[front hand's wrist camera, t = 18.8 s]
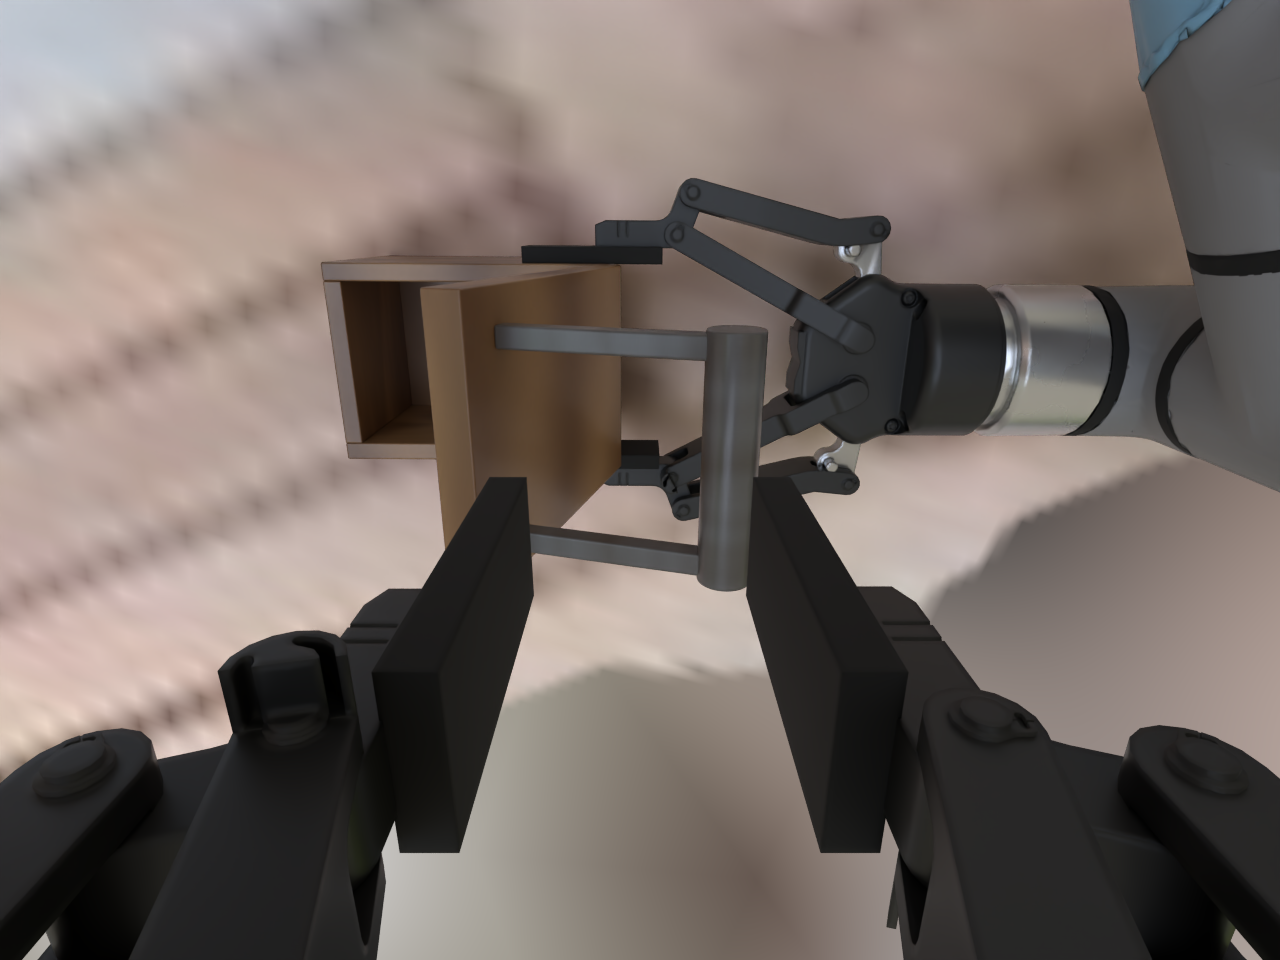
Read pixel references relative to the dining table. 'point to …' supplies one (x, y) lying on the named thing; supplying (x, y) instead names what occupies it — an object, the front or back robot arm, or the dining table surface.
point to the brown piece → (583, 412)
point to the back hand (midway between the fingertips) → (531, 358)
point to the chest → (394, 344)
